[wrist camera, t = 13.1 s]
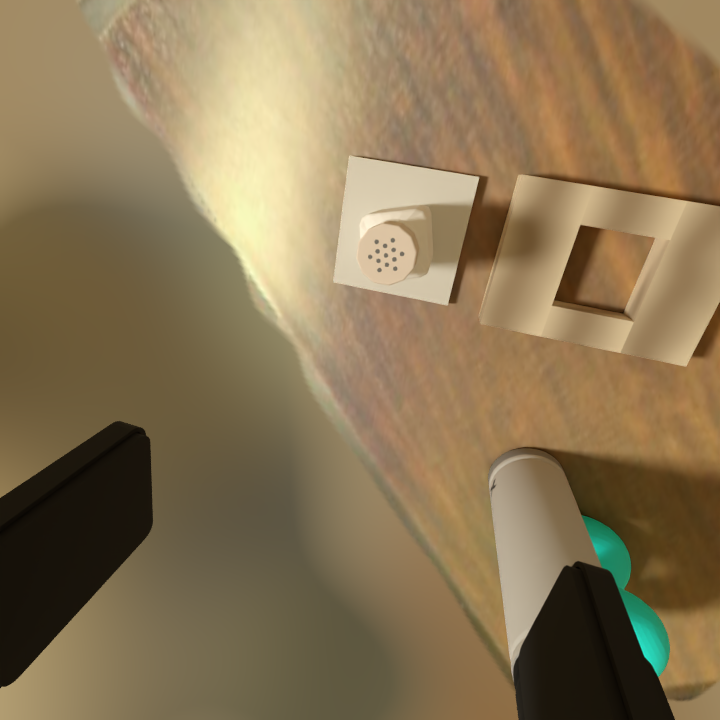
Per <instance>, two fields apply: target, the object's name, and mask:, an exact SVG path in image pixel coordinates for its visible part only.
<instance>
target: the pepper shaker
mask: <svg viewBox="0 0 720 720" xmlns="http://www.w3.org/2000/svg"><path fill="white" fill-rule="evenodd" d="M359 226H360V241H359V242H358V249H357V256H356V258H357V261H358V264H359V266H360V269H361V271H362V273H363V274H364V275H365V276H366V277H368V278H369V279H370V280H371V281H372V282H374V283H378V284H383V285H388V286H390V285H392V284H395V283H398V282H401V281H404V280H405V279H414V278H421V277H422V276H424V275H426V274H427V273H428V271H429V268H430V264H431V261H432V257H433V237H432V218H431V211H430V209H429V207H428V206H426V205H422V204H421V205H412V206H404V207H395V208H387V209H381V210H378V211H375V212H372V213H369V214H367V215H365V216H364V217H362V219H361V222H360V225H359Z"/></svg>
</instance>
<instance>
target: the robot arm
mask: <svg viewBox="0 0 720 720" xmlns="http://www.w3.org/2000/svg"><path fill="white" fill-rule="evenodd" d="M150 452H151V451H150V439H149V437H147V436H146V433H145V431H144V429H143V428H141V427H137V426H134V425H131V424H128V423H124V422H121V421H117V422H114V423H112V424H110V425H109V426H107V427H106V428H105V429H103V430H102V431H100V432H99V433H97V434H96V435H94V436H93V437H91V438H90V439H88V440H87V441H85V442H84V443H82V444H81V445H79V446H78V447H76V448H75V449H73V450H72V451H70V452H69V453H67V454H66V455H64V456H63V457H61V458H60V459H58V460H57V461H55V462H54V463H52V464H51V465H49V466H48V467H46V468H45V469H43V470H42V471H40V472H39V473H37V474H36V475H34V476H33V477H31V478H30V479H28V480H27V481H25V482H24V483H22V484H21V485H19V486H18V487H16V488H15V489H13V490H12V491H10V492H9V493H7V494H6V495H4V496H3V497H1V498H0V688H1V687H2V686H3V687H5V686H8V685H10V684H11V683H13V682H14V681H15V680H16V679H17V678H18V677H19V676H20V675H21V674H22V673H23V672H24V671H25V670H26V669H27V668H28V667H29V665H30V664H31V663H32V662H33V661H34V660H35V659H36V658H37V657H38V656H39V655H40V653H41V652H42V651H43V650H44V649H45V648H46V647H47V646H48V645H49V644H50V643H51V641H52V640H53V639H54V638H55V637H56V636H57V635H58V633H60V631H61V630H62V629H63V628H64V627H65V626H66V625H67V624H68V623H69V622H70V620H71V619H72V618H73V617H74V616H75V615H76V614H77V613H78V612H79V611H80V609H81V608H82V607H83V606H84V605H85V604H86V603H87V602H88V601H89V600H90V599H91V598H92V596H93V595H94V594H95V593H96V592H97V591H98V590H99V589H100V588H101V587H102V585H103V584H104V583H105V582H106V581H107V580H108V579H109V578H110V577H111V576H112V574H113V573H114V572H115V571H116V570H117V569H118V568H119V567H120V566H121V564H122V563H123V562H124V561H125V560H126V559H127V558H128V557H129V556H130V555H131V554H132V552H133V551H134V550H135V549H136V548H137V547H138V546H139V545H140V544H141V543H142V541H143V540H144V539H145V538H146V537H147V536H148V534H149V532H150V530H151V528H152V524H153V511H152V482H151V453H150ZM519 674H520V683H521V691H522V700H523V709H524V718H525V720H675V719H674V716H673V714H672V711H671V709H670V706H669V703H668V701H667V698H666V696H665V693H664V691H663V688H662V686H661V683H660V681H659V678H658V676H657V674H656V672H655V670H654V668H653V666H652V664H651V663H650V662H649V661H648V660H647V659H646V658H645V657H644V654H643V652H642V649H641V647H640V644H639V641H638V639H637V636H636V634H635V631H634V628H633V626H632V623H631V621H630V618H629V615H628V613H627V610H626V608H625V605H624V602H623V600H622V597H621V595H620V592H619V589H618V587H617V584H616V582H615V579H614V577H613V575H612V573H611V572H610V571H609V570H607V569H604V568H600V567H597V566H594V565H591V564H587V563H584V562H581V561H577V562H575V563H574V564H573V565H572V567H571V566H568V565H566V566H564V567H563V569H562V571H561V572H560V574H559V576H558V578H557V580H556V582H555V584H554V586H553V587H552V589H551V591H550V593H549V595H548V597H547V599H546V601H545V602H544V604H543V606H542V608H541V610H540V612H539V614H538V615H537V617H536V619H535V621H534V623H533V625H532V627H531V629H530V630H529V632H528V634H527V636H526V638H525V640H524V642H523V644H522V646H521V648H520V652H519Z"/></svg>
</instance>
